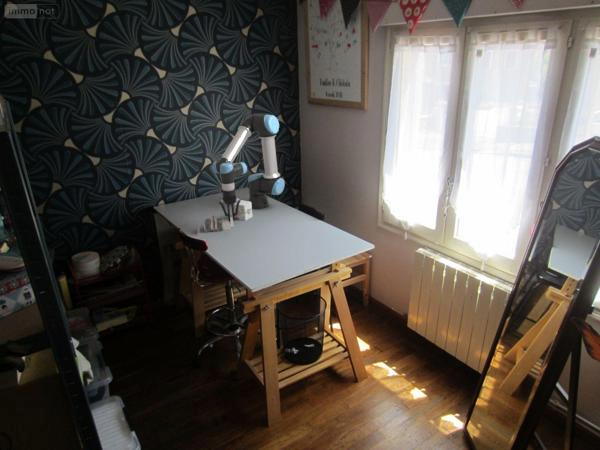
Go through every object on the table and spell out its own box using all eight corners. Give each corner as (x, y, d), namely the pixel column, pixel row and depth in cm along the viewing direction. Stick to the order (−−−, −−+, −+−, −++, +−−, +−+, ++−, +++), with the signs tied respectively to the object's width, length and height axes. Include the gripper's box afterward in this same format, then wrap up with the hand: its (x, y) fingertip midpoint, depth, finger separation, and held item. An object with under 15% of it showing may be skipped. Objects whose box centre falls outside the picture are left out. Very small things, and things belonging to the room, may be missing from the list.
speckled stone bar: (231, 226, 258) (230, 220, 257) (231, 229, 255) (230, 222, 253) (205, 229, 256) (204, 222, 255) (204, 231, 252) (204, 225, 251)
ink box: (234, 220, 272) (233, 203, 268) (242, 216, 279) (240, 199, 275) (245, 222, 268) (244, 205, 264) (253, 218, 275) (251, 201, 271)
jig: (252, 225, 263) (251, 211, 259) (253, 230, 254) (252, 216, 251) (201, 229, 259) (199, 215, 255) (200, 235, 250) (198, 221, 247)
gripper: (239, 186, 252) (242, 223, 260) (217, 188, 250) (221, 224, 259) (239, 190, 245) (243, 227, 253) (217, 191, 243) (221, 229, 252)
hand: (232, 226), depth 256 cm, fingers closed
